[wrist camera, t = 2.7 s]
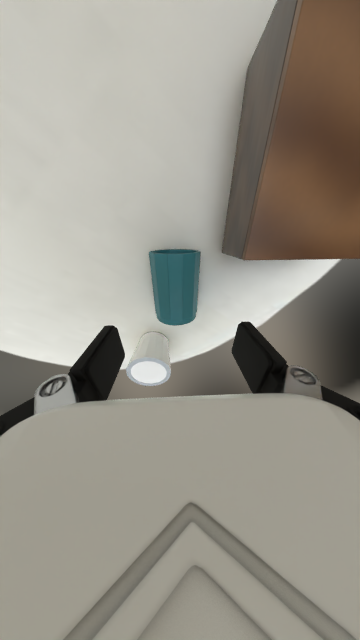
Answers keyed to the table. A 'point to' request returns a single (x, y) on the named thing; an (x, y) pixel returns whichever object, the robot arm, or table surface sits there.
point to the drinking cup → (175, 284)
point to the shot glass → (150, 360)
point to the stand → (300, 138)
